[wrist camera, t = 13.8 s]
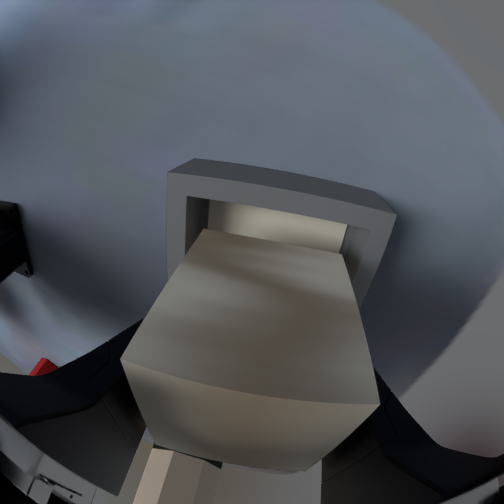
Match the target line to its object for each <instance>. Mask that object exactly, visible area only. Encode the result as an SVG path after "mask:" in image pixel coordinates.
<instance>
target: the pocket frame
mask: <svg viewBox="0 0 504 504" xmlns="http://www.w3.org/2000/svg"><path fill="white" fill-rule="evenodd" d="M396 217H397V214H396V213H395V212H394V211H393V210H392V209H391V208H390V207H389V206H388V205H387V204H386V203H385V202H384V201H383V200H382V199H381V198H380V197H379V196H378V195H377V194H376V193H375V192H373V191H369V190H366V189H362V188H358V187H354V186H350V185H346V184H341V183H337V182H333V181H328V180H324V179H319V178H314V177H310V176H305V175H300V174H295V173H289V172H284V171H279V170H273V169H267V168H261V167H255V166H249V165H242V164H235V163H228V162H220V161H212V160H204V159H195V158H194V159H192V160H190V161H188V162H186V163H184V164H182V165H180V166H178V167H176V168H174V169H173V170H171V171H169V172H167V203H166V248H167V279H168V281H169V279H170V278H171V276H172V275H173V273H174V272H175V270H176V269H177V267H178V266H179V264H180V263H181V261H182V260H183V258H184V257H185V255H186V254H187V252H188V251H189V249H190V248H191V246H192V245H193V243H194V242H195V240H196V239H197V238H198V236H199V235H200V233H201V232H202V230H203V229H209V230H215V231H220V232H226V233H232V234H237V235H243V236H248V237H253V238H259V239H264V240H270V241H275V242H280V243H286V244H291V245H296V246H301V247H307V248H312V249H317V250H322V251H327V252H332V253H337V254H342V256H343V259H344V262H345V265H346V269H347V272H348V275H349V278H350V281H351V285H352V288H353V292H354V295H355V298H356V302H357V305H358V309H359V310H360V308H361V306H362V304H363V302H364V299H365V297H366V295H367V293H368V290H369V288H370V286H371V283H372V281H373V279H374V276H375V274H376V271H377V269H378V266H379V264H380V261H381V259H382V256H383V254H384V251H385V248H386V246H387V243H388V240H389V237H390V235H391V232H392V229H393V226H394V223H395V220H396Z"/></svg>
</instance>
